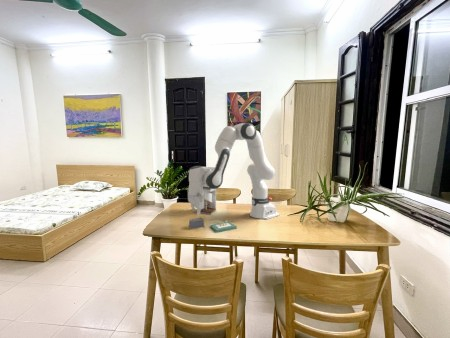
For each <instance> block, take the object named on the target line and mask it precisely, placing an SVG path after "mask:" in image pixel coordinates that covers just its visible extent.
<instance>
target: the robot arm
mask: <svg viewBox="0 0 450 338" xmlns="http://www.w3.org/2000/svg"><path fill="white" fill-rule="evenodd" d="M237 140H239V141H244V140H245V142H246V145H247V151H248V155H249V158H250V160H251V161H252V163H250V164H249V165H248V166H247V169H246V172H247V174H248V176H249V179H250V181H251V186H252V196H251V210H250V213H249V216H250V217H252V218H254V219H262V220H269V219H272V218H276V217H279V216H280V213H279V212H278V211H277V208H276V205H274V204H273V203H271V202H270V201H273V198H272V197H268V196H269V195H268V191H269V188H268V185H267V184H266V182H265V181H270V180H273V179H274V177H275V175H276V170H275V168H274V167H273V166H272V165H271V164H270V162H269V160H268V158H267V155H266V152H265V147H264V141H263V139H262V135H261V133H260V132H259V131H258V130H257V129H256V126H254V125H253V123H250V122H241V123H238V124H234V125H233V126H231V125H230V126H229V125H227V126H225V127H224V128H223V129H222V131H221V132H220V133H219V135H218V138H217V139H216V142H215V145H214V150H215V153H216V154H217V160H216V164H215V166H214V167H215V169H214V171H213V172H212V171H209V170H207V169H204V168H203V167H204V166H201V165H194V166H192V167H190V168H189V171H188V182H189V183H188V184H189V185H188V188H187V189H186V190H187V191H186V192H187V201H188V203H189V204H190V206H191V211H196V215H197V216H199V215H201V213H200V211H201V209H204V199H203V197H202V196H201V195H202V194H203V185H207V186H209V187H210V188H212V189H216V190H217V189H219V188H220V187H221V186H222V184H223V180H224V173H225V171H226V168H227V165H228V163H229V159H230V155H231V151H232V148H233V146H234V144H235V142H236V141H237Z"/></svg>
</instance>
